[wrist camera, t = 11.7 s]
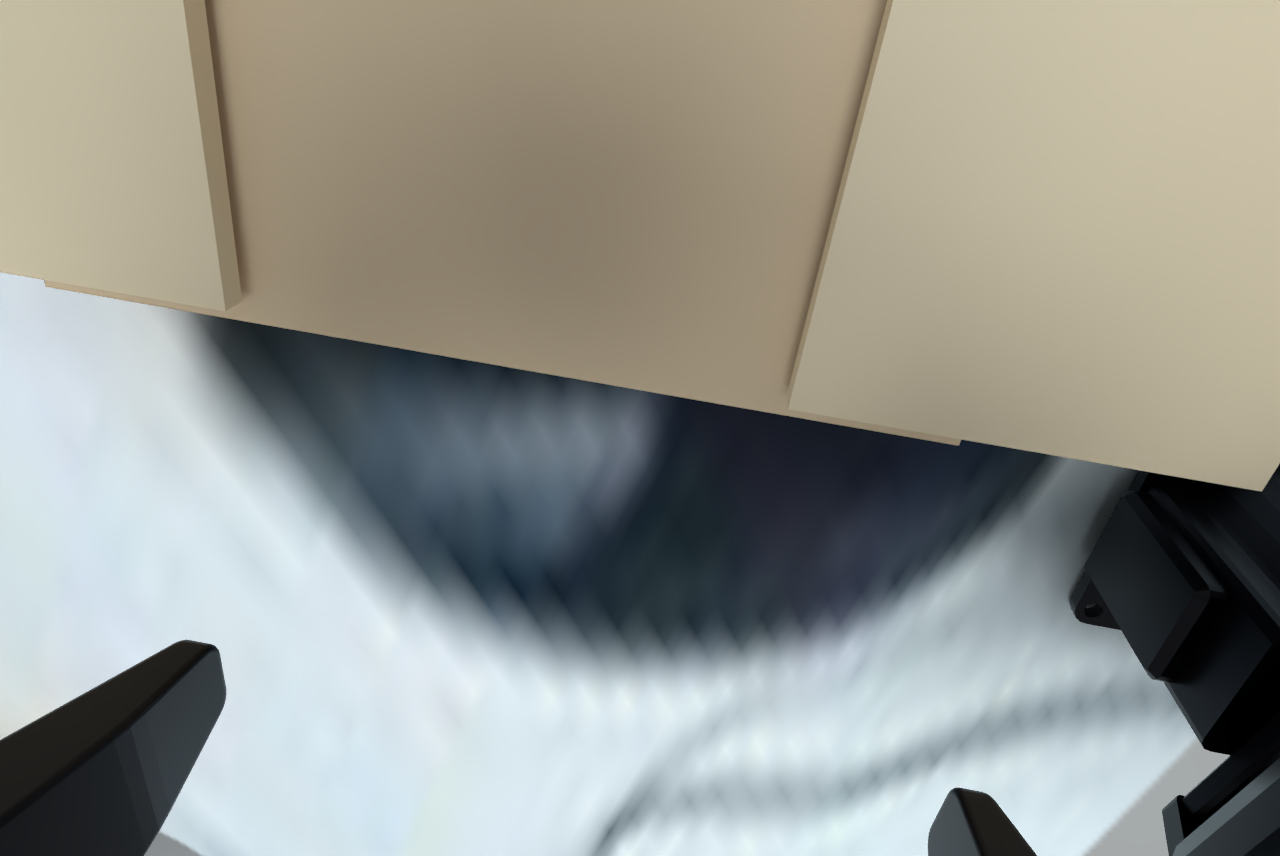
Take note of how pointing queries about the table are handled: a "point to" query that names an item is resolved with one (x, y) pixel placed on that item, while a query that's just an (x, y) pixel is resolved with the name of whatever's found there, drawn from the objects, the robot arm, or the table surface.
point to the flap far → (114, 150)
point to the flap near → (1062, 235)
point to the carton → (543, 180)
